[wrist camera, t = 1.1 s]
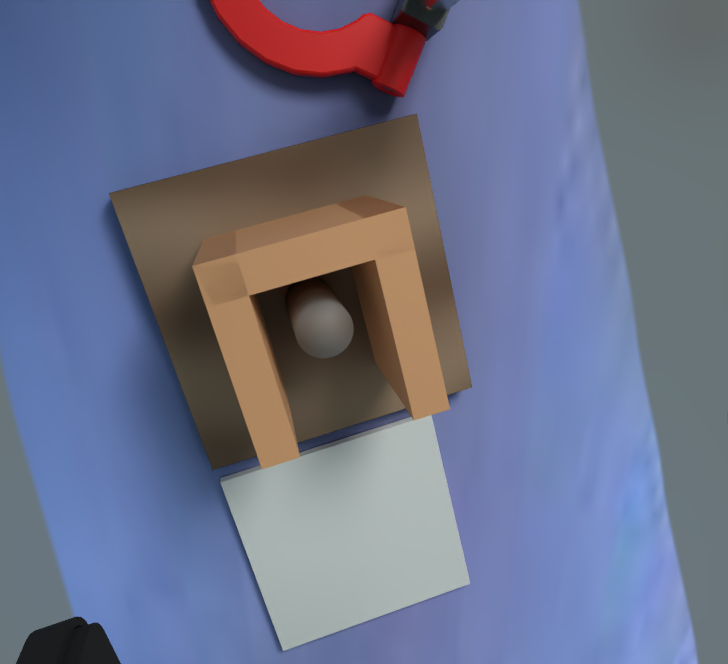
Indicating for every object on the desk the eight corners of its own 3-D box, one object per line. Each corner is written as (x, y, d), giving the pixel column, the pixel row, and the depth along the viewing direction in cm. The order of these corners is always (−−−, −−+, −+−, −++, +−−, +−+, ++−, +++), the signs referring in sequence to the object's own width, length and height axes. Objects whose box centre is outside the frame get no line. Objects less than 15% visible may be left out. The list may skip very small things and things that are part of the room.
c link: (203, 239, 23) (191, 266, 18) (366, 195, 24) (405, 207, 18) (256, 399, 25) (261, 469, 20) (404, 354, 26) (449, 409, 21)
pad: (220, 477, 27) (220, 482, 27) (428, 411, 28) (431, 414, 28) (282, 644, 30) (283, 651, 30) (467, 578, 31) (470, 583, 31)
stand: (114, 192, 23) (78, 202, 18) (409, 115, 24) (455, 104, 19) (213, 459, 27) (207, 531, 22) (464, 379, 28) (515, 429, 23)
